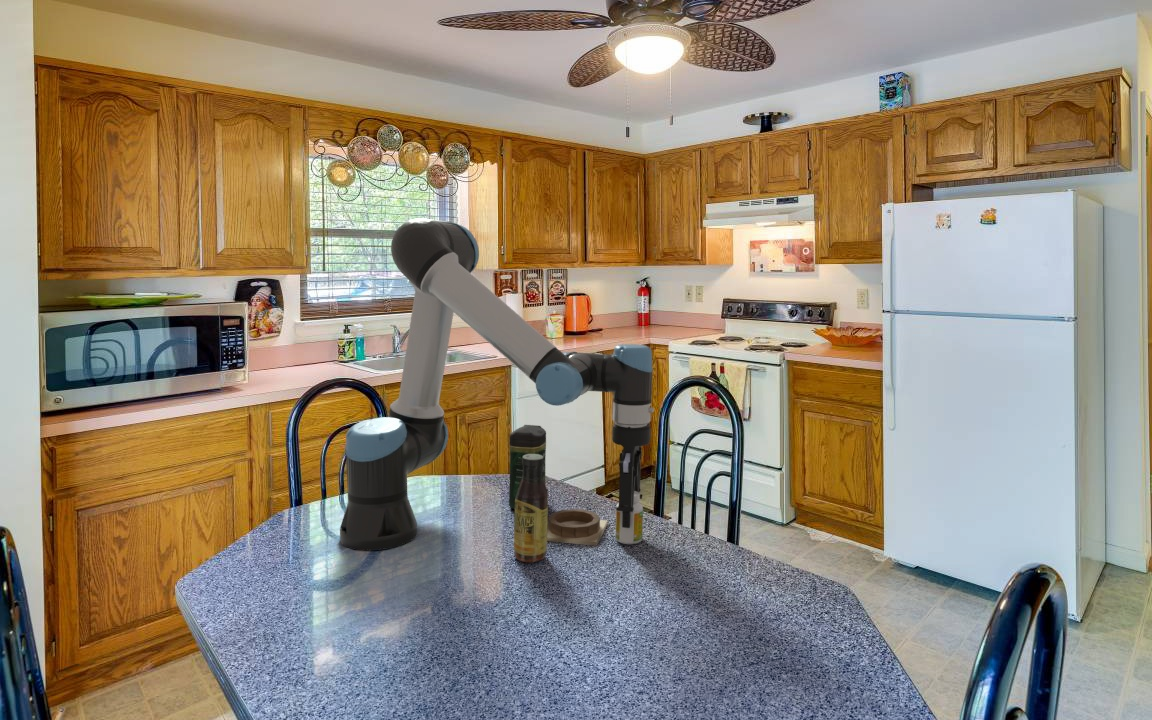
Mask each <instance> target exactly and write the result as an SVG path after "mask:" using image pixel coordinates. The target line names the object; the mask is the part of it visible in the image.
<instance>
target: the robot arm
mask: <svg viewBox="0 0 1152 720" xmlns="http://www.w3.org/2000/svg"><path fill="white" fill-rule="evenodd" d="M392 236H393V237H392V239H391V245H390V251H391V252H390V253H391V258H392V261H393V263H394V265H395V266H396V268H397V269H398V270H399V272H400V273H401V274H402V275H403V276H404V278H407V280H408V281H409V283H410V284H411V286H412V287H413V289H414V297H413V304H412V310H411V317H410V322H409V329H408V330H409V331H408V336H407V342H406V343H407V344H406V350H405V355H404V360H403V361H404V363H403V368H402V373H401V382H400V388H399V395H398V398H397V399H396V400H394V401H393V402H391V403H390V405H389V410H388V411H389V412H388V416H386V417H385V416H383V417H375V418H372V419H366V420H365V419H364V420H362V421H360V422H357V423H355V424H354V425H352V426H351V427H350V428H349V429H348V430H347V432H346V435H345V445H344V452H345V453H344V454H345V461H346V464H345V465H346V485H347V486H346V487H347V505H346V508H345V511H344V514H343V517H342V522H341V525H340V527H339V540H340V543H341V544H342V545H343V546H344V547H346V548H349V549H352V550H358V551H359V550H360V551H381V550H388V549H392V548H396V547H399V546H402V545H405V544H407V543H409V542H411V541H413V540H414V539H415V538H416V536H417V535H418V522H417V518H416V516H415V513H414V510H413V508H412V506H411V502H410V500H409V495H408V494H409V493H408V474H410V473H412V472H414V471H416V470H419V469H420V468H423V467H425V466H427V465H429V464H430V463H433V462H434V461H435V460H436V459H437V458H439V456H441V455H442V453H443V452H444V450H445V449H446V447H447V444H448V441H449V429H448V426H447V424H446V423H445V419H444V416H445V411H444V409H443V407H442V406H441V405H440V398H441V397H440V396H441V391H442V386H443V379H444V373H445V367H446V361H447V355H448V354H447V353H448V349H449V343H450V337H451V331H452V324H453V317H454V314H455V315H456V316H458V318H460V319H461V320H462V321H463V322H464V323H465V324H466V325H468V326H469V327H470V328H471V329H473V331H475V332H476V333H477V334H478V335H480V337H481V338H483V339H484V340H485V341H486V342H487V343H488V344H490V345H491V346H492V347H493V348H494V349H495V350H496V351H498V353H500V354H501V355H502V356H503V357H505V359H506V360H508V361H509V362H510V363H511V364H513V365H514V366H515V367H516V368H517V369H518V370H519V371H521V372H522V373H523V374H524V375H525V376H527V378H528V379H530V380H531V381H532V382H533V383H534V384H535V388H536V389H535V390H536V392H537V395H538V397H540V399H541V401H543V402H545V403H546V404H547V405H551V406H564V405H568V404H570V403H572V402H574V401H575V400H577V399H578V398H579V397H580V396H582V395H584V394H586V393H588V392H602V393H603V392H604V393H612V396H613V398H612V419H611V420H612V421H613V424H612V430H611V431H612V432H611V433H612V434H611V435H612V436H611V439H612V442H613V443H614V444H615V445H617V446H618V445H619V446H622V448H623V449H621V452H619V459H618V460H619V462H618V469H619V479H618V480H619V483H618V484H619V487H618V488H619V489H618V503H619V506H618V507H616V506H615V512H616V511H620V535H619V542H618V543H620V542H627V543H633V541H634V508H633V502H634V491H637V492H639V493H640V500H642V499H643V494H641V466H642V465H641V463H642V456H643V451H642V447H645V446H647V445H649V444H650V443H651V430H652V428H651V427H652V426H651V425H650V423H651V421H652V419H651V417H652V415H651V414H652V413H653V414H654V412H655V408H654V407H651V406H652V393H653V392H652V389H653V373H654V372H653V371H654V368H653V352H652V349H651V348H650V347H649V346H647V345H645V344H644V345H643V344H636V343H635V344H632V343H631V344H627V343H625V344H624V343H622V344H618V345H616V346H615V347H614V349H613V353H609V354H608V353H607V354H604V353H592V352H590V353H587V352H577V351H570V352H563V351H561V349H558V348H557V346H555V345H554V344H553V343H552V342H551V341H549V339H548V338H546V337H545V336H544V335H542V334H541V333H540V332H539V331H538V330H537V329H536V328H534V326H532V325H531V323H529V322H528V321H526V320H525V319H524V318H523V317H522V316H520V314H518V313H517V312H516V311H515V310H513V309H512V308H511V307H510V306H508V304H507V303H506V302H504V301H503V299H501V298H500V297H499V296H498V295H496V294H495V293H494V292H493V291H491V289H489V288H488V287H487V286H486V285H485V284H483V283H482V282H481V281H480V280H479V279H478V278H477V277H475V276H474V275H473V274H472V272H473V271H474V270H475V269H476V267H477V265H478V263H479V258H480V249H479V244H478V241H477V239H476V237H474V234H472V232H471V231H470V230H469V229H468V228H466V227H465V226H464V225H462V224H458V223H456V222H452V221H448V220H447V221H446V220H438V219H429V218H423V217H419V218H413V219H410V220H409V219H408V220H407V221H406V222H403V223H402V224H401V226H399V227H398V228H397V229H396V231H395V233H394V234H393V235H392Z"/></svg>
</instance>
